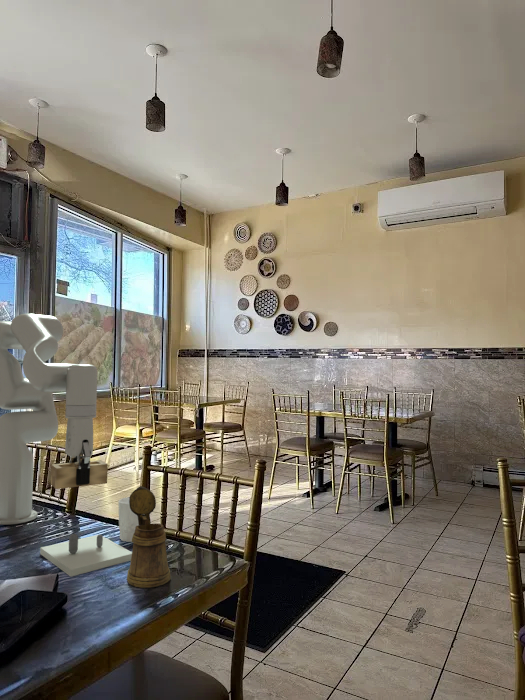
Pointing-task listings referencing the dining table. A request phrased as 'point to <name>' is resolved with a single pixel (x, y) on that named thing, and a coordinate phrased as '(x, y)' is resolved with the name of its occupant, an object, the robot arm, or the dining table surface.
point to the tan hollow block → (66, 474)
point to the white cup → (126, 520)
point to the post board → (85, 554)
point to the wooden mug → (147, 544)
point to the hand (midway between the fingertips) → (79, 481)
